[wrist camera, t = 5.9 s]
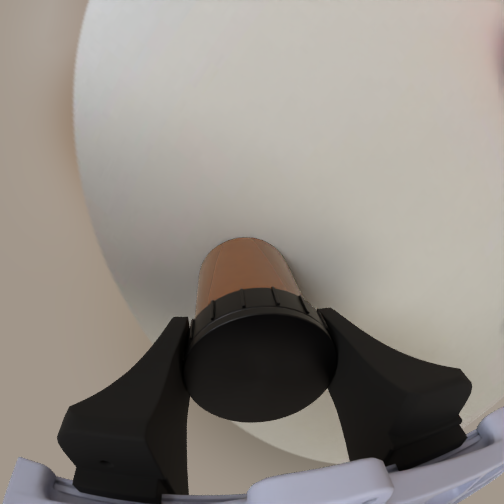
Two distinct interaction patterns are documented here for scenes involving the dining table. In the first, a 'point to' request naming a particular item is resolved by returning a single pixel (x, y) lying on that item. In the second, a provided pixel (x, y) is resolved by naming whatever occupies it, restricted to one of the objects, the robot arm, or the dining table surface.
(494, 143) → the dining table surface
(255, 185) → the dining table surface
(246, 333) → the jar lid
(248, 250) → the jar
